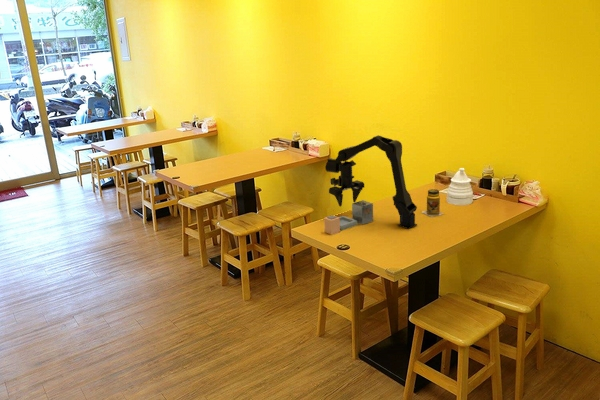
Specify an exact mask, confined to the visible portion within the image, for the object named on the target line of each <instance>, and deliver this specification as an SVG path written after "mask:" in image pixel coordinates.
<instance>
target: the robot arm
mask: <svg viewBox="0 0 600 400" xmlns="http://www.w3.org/2000/svg"><path fill="white" fill-rule="evenodd" d="M374 146H375V147H377V148H378V149H379V150H381V151H383V152H385V156H386V158H387V159H388V160H389V162H390V166H391V172H392V178H393V183H394V188H395V195H393V196H392V201H393V206H394V207H395V208H396V210H397V212H398V215H399V223H398V224H397V226H399V227H402V228H405V229H408V230H409V229H411V228H414V227H417V226H418V223H416V214H415V213H416V211H417V209H418V207H417V205H416V204H415V203H414V202H413V201H412V197H411V194H410V193H409V191H408V190H407V186H406V181H405V175H404V171H403V169H404V168H403V165H402V156H403V144H402V143H401V141H399V140H397V139H395V140H394V139H392V138H389V137H384V136H382V135H379V134H378V135H375V136H373V137H372V138H370V139H367V140H366V141H363V142H361V143H359V144H357V145H354V146H353V145H352V146H348V147H345V148H342V149H341V150H339V151H338V153H337V156H336V158H327V161H326V164H325V168H324V169H325V171H326V172H327V173H333V174H339V173H340V175H338V178H336V177H332V178H330V181H329V182H330V184H331V185H332V187H329V189H328V194H329V195H330V194H331V195H332V196H334V198H335V200H336V202H337V203H338V206H339V207H342V205H343V199H344V193H343V192H344V191H346V190H350V189H351V191H352V202H353V203H355V202H357V200H358V198H359V195H360V194H361V192H362V191H363V189H364V188H365V182H363V180H362V181H361V180H358V179H357V180H353V179H354V178H355V175H353V167H354V166H356V165H357V163H356V162H355V161H354V160H351V159H353V158H354V157H356V156H357V155H358V154H359V153H361V152H364V151H366V150H369V149H371V148H373V147H374ZM348 160H350V161H348Z"/></svg>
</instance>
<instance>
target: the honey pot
mask: <svg viewBox="0 0 600 400" xmlns="http://www.w3.org/2000/svg"><path fill="white" fill-rule="evenodd" d="M465 171H466V170H465V168H464V167H460V168H459V170H458V171H456V173H455V174H454V175H453V177H452V178H450V184H449V186H448V188H447V191H446V192H447V193H446V203H448V204H450V205H453V206H454V205H455V206H468V205H471V204H472V203H473V201H474V198H473V197H474V191H473V188H472V185H471V182H472V179H471V178H469V176H468V175H467V174H466V172H465Z"/></svg>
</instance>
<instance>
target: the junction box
mask: <svg viewBox="0 0 600 400" xmlns="http://www.w3.org/2000/svg"><path fill="white" fill-rule="evenodd" d="M351 215H352V216H351V217H352V218H351V219H354V220H356V221H357V224H359V225H362V226H363V225H366V224H368V223H372V222H374V203H373V202H370V201H367V200H363V199H362V200H359V201H356V202H353V203H352V204H351Z"/></svg>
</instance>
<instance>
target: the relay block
mask: <svg viewBox="0 0 600 400" xmlns="http://www.w3.org/2000/svg"><path fill="white" fill-rule="evenodd" d="M339 217H340V216H336V215H333V214H332V215H329V216H325V217H324V218H323V222H324V224H323V225H324V233H326V234H328V235H331V236H333V235H336V234H339V233H341V230H340V218H339Z"/></svg>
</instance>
